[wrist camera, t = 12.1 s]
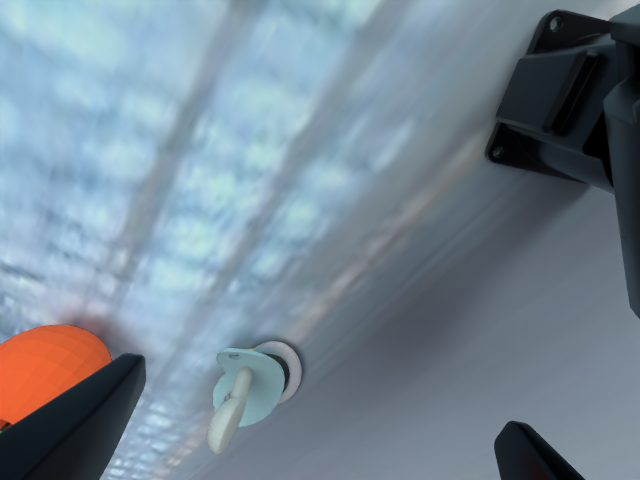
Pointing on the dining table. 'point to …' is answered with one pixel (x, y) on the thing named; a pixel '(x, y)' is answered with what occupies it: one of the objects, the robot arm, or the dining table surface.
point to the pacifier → (250, 389)
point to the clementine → (45, 367)
